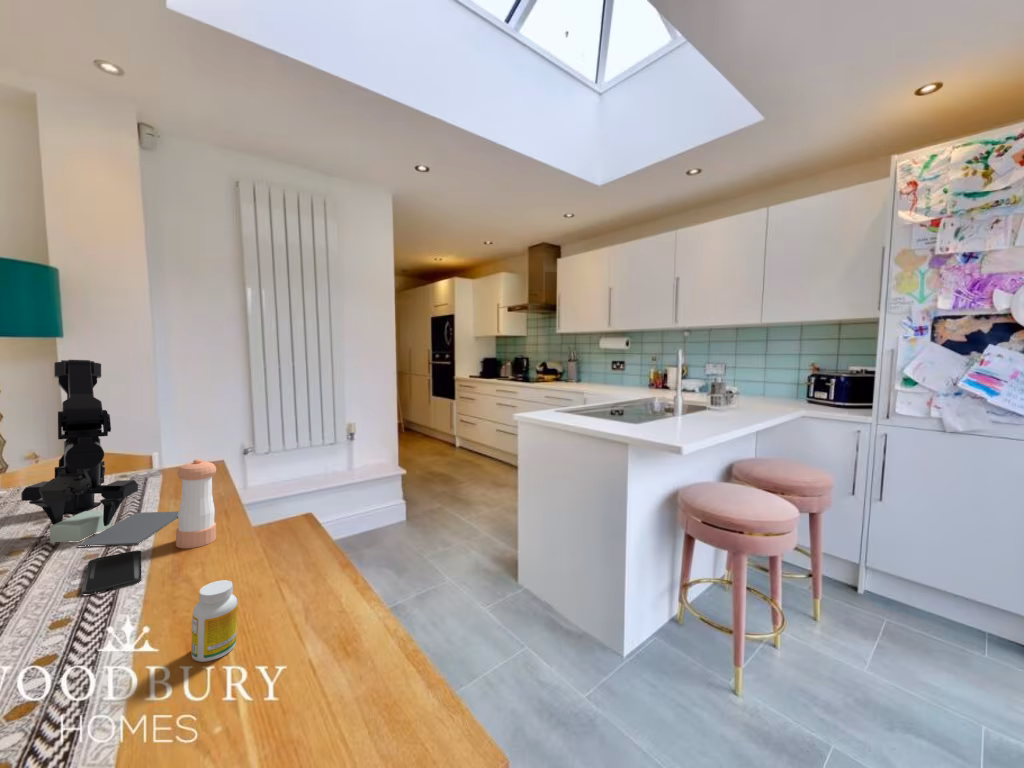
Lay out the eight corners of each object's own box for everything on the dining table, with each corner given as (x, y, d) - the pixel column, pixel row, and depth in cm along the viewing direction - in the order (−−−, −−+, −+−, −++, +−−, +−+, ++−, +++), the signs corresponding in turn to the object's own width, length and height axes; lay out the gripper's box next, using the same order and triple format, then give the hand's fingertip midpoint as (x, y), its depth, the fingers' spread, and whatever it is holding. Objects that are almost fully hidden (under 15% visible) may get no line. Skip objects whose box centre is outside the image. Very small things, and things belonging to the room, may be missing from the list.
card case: (84, 527, 97) (84, 511, 97) (111, 526, 98) (111, 510, 98) (50, 544, 89) (50, 526, 88) (79, 543, 90) (80, 525, 89)
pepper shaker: (187, 535, 96) (188, 455, 95) (221, 534, 97) (223, 455, 96) (168, 549, 89) (169, 463, 88) (205, 547, 90) (207, 463, 89)
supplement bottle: (181, 661, 57) (182, 596, 57) (210, 636, 63) (212, 576, 62) (218, 664, 57) (219, 599, 57) (244, 639, 62) (246, 578, 62)
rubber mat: (136, 514, 106) (136, 512, 106) (184, 513, 108) (184, 511, 108) (77, 547, 87) (77, 545, 87) (138, 544, 90) (138, 542, 90)
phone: (141, 549, 87) (141, 579, 76) (141, 554, 87) (141, 585, 76) (88, 559, 81) (80, 593, 70) (87, 565, 81) (80, 599, 70)
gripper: (-5, 469, 83) (-4, 544, 83) (105, 468, 87) (105, 539, 88) (43, 456, 93) (44, 522, 94) (139, 456, 98) (139, 519, 99)
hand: (82, 526), depth 93 cm, fingers open, 9 cm apart
